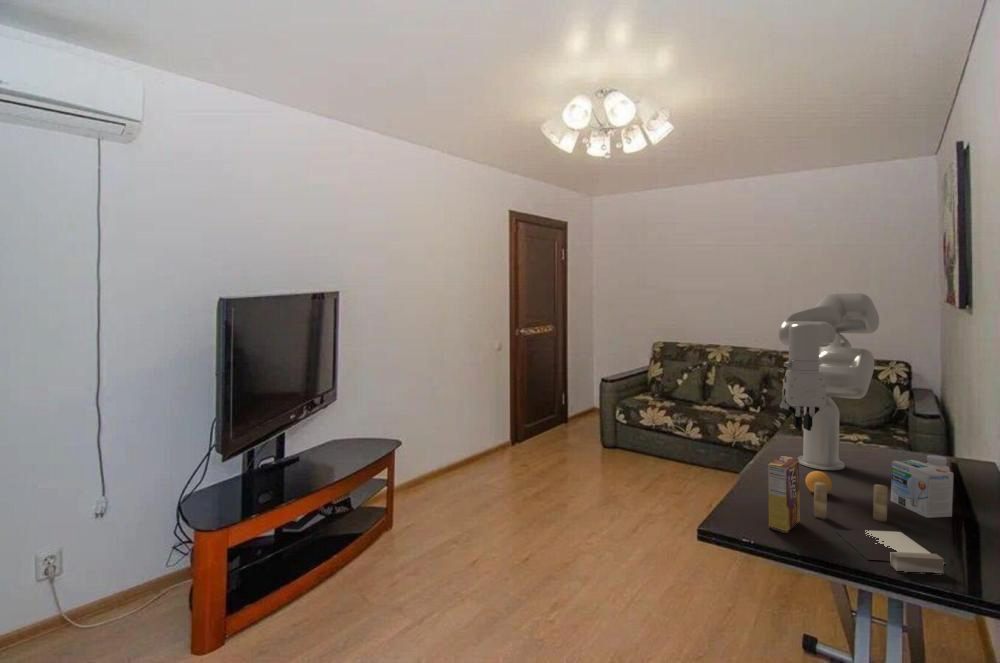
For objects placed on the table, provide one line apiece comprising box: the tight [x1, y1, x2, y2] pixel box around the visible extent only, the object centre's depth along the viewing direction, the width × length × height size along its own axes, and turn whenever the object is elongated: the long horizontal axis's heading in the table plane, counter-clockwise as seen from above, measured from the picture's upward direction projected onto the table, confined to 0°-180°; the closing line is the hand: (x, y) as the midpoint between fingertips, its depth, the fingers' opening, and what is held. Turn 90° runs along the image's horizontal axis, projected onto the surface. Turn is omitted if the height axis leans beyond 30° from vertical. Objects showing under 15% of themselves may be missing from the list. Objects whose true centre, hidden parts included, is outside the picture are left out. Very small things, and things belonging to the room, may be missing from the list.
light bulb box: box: [890, 459, 954, 519], centre depth 126 cm, size 11×7×11 cm, turn 5°
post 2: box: [872, 484, 889, 523], centre depth 120 cm, size 3×3×8 cm
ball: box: [805, 470, 832, 493], centre depth 137 cm, size 6×6×6 cm
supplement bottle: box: [924, 454, 951, 472], centre depth 136 cm, size 5×5×10 cm
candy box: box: [767, 455, 801, 531], centre depth 117 cm, size 9×4×15 cm, turn 133°
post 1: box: [813, 482, 828, 519], centre depth 122 cm, size 3×3×8 cm
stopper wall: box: [889, 552, 945, 574], centre depth 97 cm, size 2×8×3 cm, turn 81°
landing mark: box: [864, 529, 932, 554], centre depth 107 cm, size 14×14×1 cm
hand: (802, 429), depth 146 cm, fingers closed
